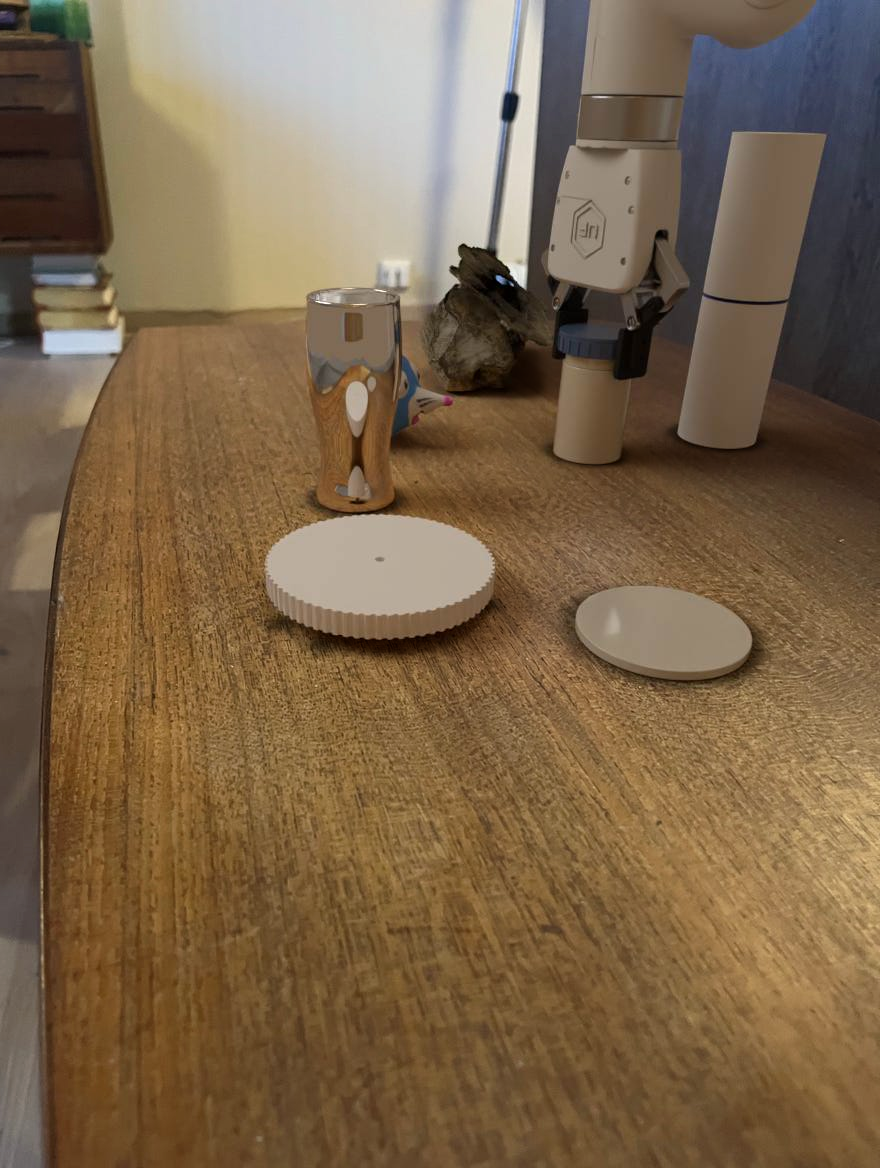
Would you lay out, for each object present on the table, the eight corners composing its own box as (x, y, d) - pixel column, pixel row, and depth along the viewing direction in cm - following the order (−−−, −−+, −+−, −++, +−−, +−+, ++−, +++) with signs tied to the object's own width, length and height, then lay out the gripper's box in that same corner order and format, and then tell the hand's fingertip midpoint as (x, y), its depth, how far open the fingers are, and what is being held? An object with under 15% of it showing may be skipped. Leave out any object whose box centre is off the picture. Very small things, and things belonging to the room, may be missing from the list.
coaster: (770, 624, 53) (773, 615, 53) (719, 702, 46) (721, 692, 45) (614, 579, 58) (615, 570, 57) (545, 643, 51) (546, 634, 50)
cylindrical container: (678, 444, 81) (735, 132, 68) (676, 421, 87) (729, 131, 74) (759, 451, 80) (833, 135, 67) (751, 428, 86) (818, 133, 73)
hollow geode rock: (490, 378, 119) (417, 287, 115) (566, 313, 112) (492, 215, 109) (453, 434, 95) (359, 323, 91) (547, 356, 89) (451, 233, 85)
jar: (630, 450, 80) (646, 343, 75) (606, 469, 75) (622, 357, 71) (568, 438, 82) (580, 334, 78) (541, 455, 78) (553, 347, 73)
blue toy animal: (431, 470, 75) (435, 369, 70) (302, 452, 78) (298, 355, 73) (468, 429, 84) (473, 338, 80) (352, 415, 87) (351, 327, 83)
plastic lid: (301, 540, 62) (300, 506, 61) (500, 558, 60) (503, 523, 59) (236, 640, 50) (232, 601, 49) (481, 667, 48) (484, 627, 47)
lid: (574, 361, 71) (577, 340, 70) (545, 342, 77) (547, 322, 76) (656, 358, 72) (660, 338, 71) (621, 339, 78) (624, 320, 77)
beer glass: (416, 492, 70) (421, 293, 62) (369, 522, 65) (369, 308, 57) (343, 475, 73) (339, 283, 65) (293, 503, 68) (282, 297, 60)
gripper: (517, 123, 71) (500, 350, 80) (679, 128, 58) (637, 398, 67) (588, 124, 74) (564, 342, 83) (756, 129, 61) (706, 386, 70)
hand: (597, 365), depth 75 cm, fingers closed on lid, 7 cm apart
